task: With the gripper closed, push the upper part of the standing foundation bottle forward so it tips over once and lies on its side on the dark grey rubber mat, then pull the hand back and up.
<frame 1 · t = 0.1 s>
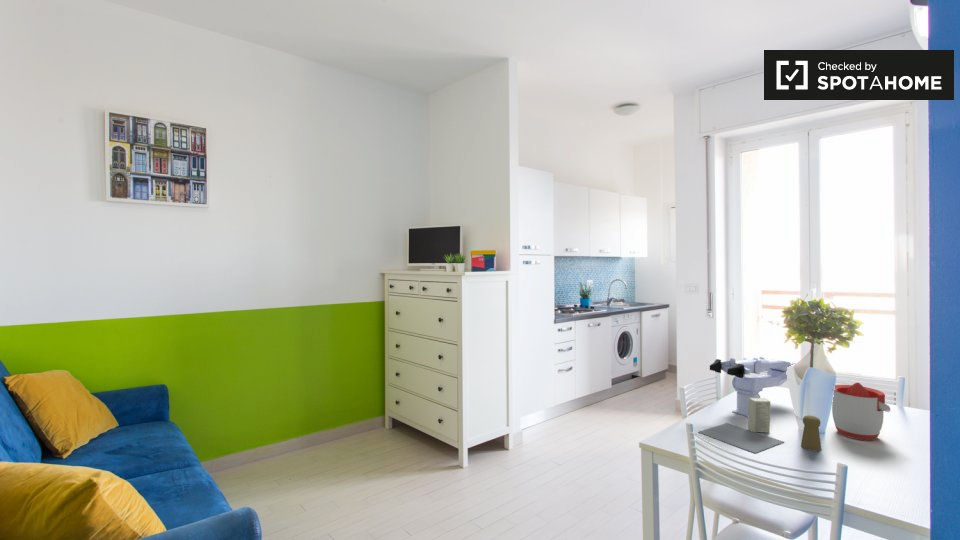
hand: (719, 369, 192), 22 cm above the table, tool horizontal, fingers open, 7 cm apart
citrus juicer: (859, 436, 177), on the table
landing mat: (739, 437, 177), on the table
skincare box: (758, 431, 183), on the table, touching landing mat
cork: (811, 447, 168), on the table
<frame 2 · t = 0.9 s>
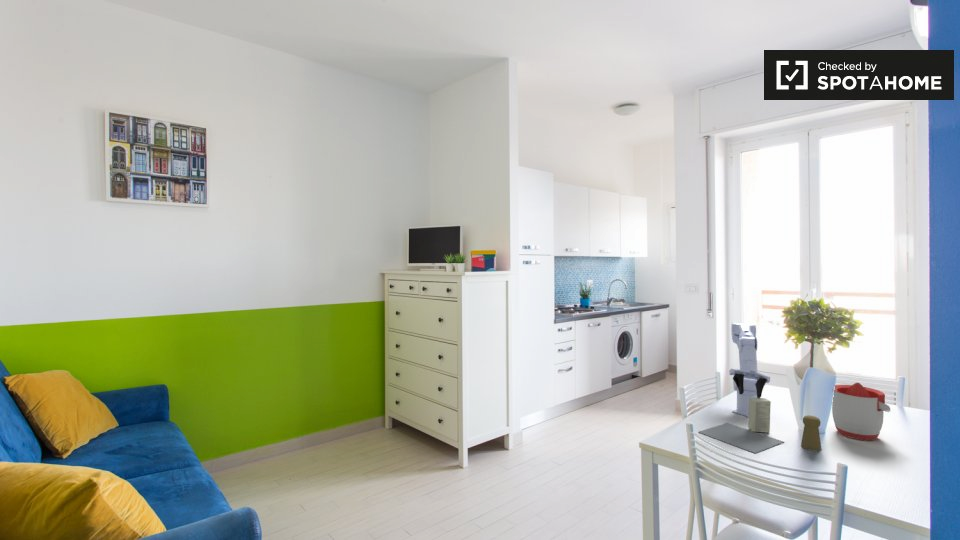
hand: (750, 395, 184), 13 cm above the table, tool tilted 40°, fingers open, 6 cm apart
skincare box: (758, 430, 183), on the table, touching gripper
everything else where it was.
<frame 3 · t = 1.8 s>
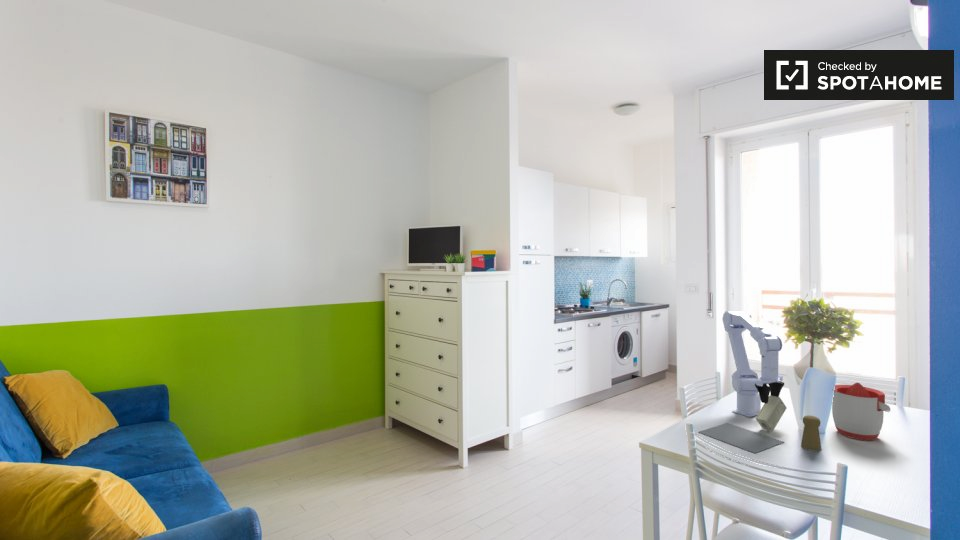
hand: (769, 401, 186), 10 cm above the table, tool pointing down, fingers open, 6 cm apart
skincare box: (763, 425, 182), point 2 cm above the table, touching gripper
everything else where it was.
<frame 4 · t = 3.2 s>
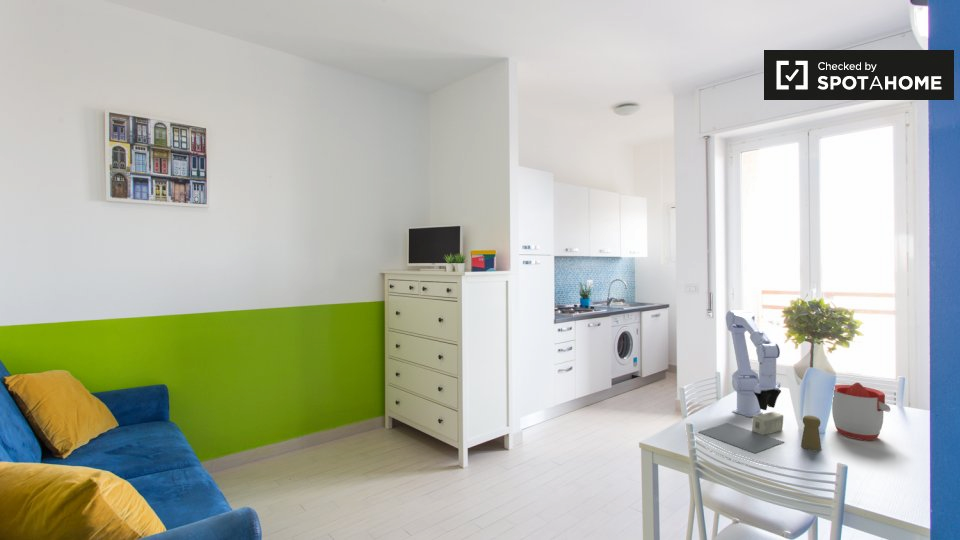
hand: (767, 408, 185), 8 cm above the table, tool pointing down, fingers open, 5 cm apart
skincare box: (757, 425, 179), point 4 cm above the table, touching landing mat
everything else where it was.
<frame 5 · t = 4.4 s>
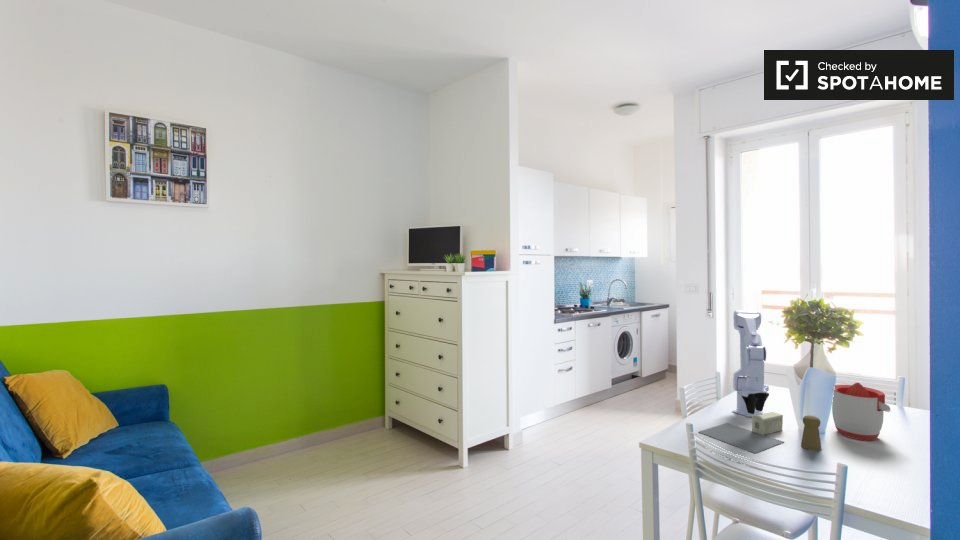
hand: (755, 411, 181), 8 cm above the table, tool pointing down, fingers open, 5 cm apart
nothing on the table moved.
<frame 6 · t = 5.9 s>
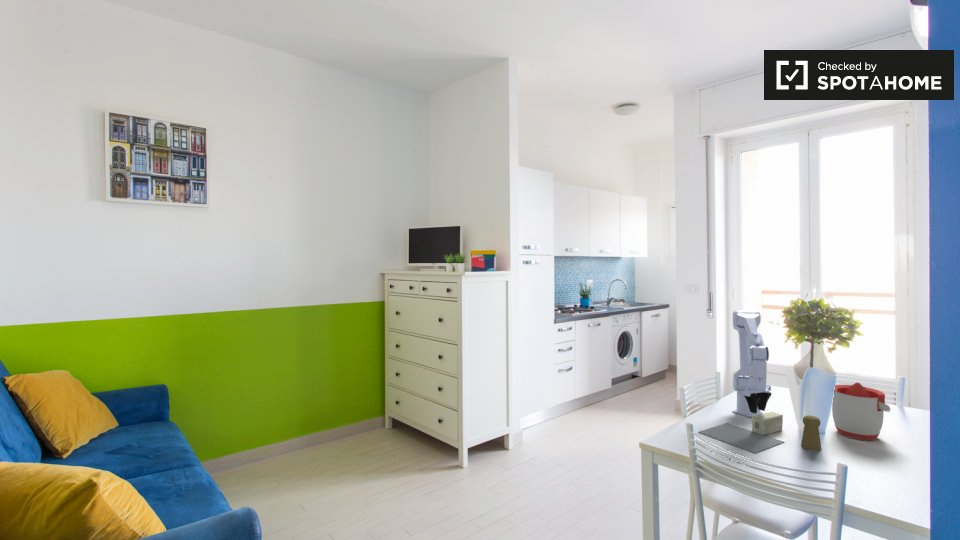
hand: (757, 411, 182), 8 cm above the table, tool pointing down, fingers open, 5 cm apart
nothing on the table moved.
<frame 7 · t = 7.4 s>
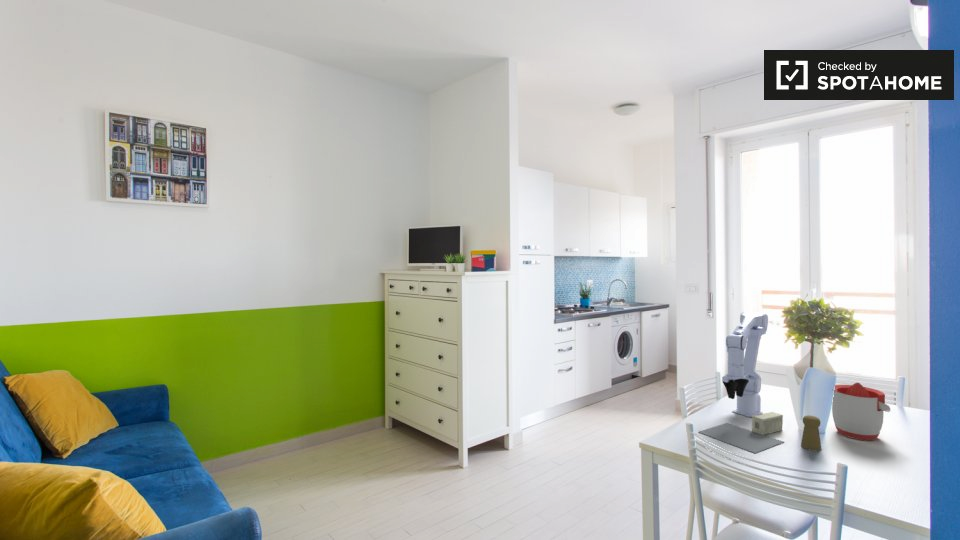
hand: (735, 397, 191), 10 cm above the table, tool pointing down, fingers open, 5 cm apart
nothing on the table moved.
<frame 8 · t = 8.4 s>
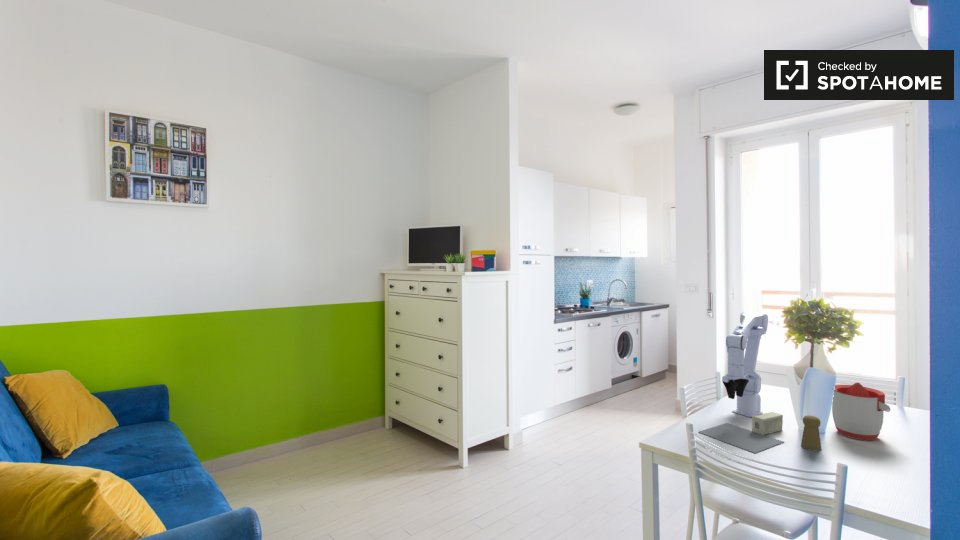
hand: (735, 397, 191), 10 cm above the table, tool pointing down, fingers open, 5 cm apart
nothing on the table moved.
at the end: skincare box tilted 93°; skincare box touching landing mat, table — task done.
